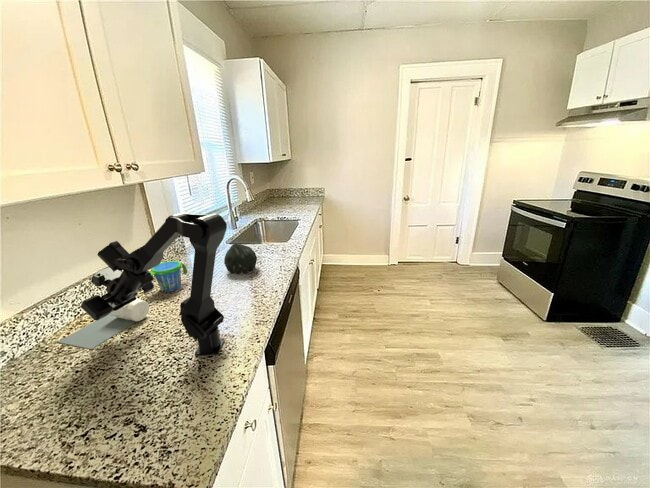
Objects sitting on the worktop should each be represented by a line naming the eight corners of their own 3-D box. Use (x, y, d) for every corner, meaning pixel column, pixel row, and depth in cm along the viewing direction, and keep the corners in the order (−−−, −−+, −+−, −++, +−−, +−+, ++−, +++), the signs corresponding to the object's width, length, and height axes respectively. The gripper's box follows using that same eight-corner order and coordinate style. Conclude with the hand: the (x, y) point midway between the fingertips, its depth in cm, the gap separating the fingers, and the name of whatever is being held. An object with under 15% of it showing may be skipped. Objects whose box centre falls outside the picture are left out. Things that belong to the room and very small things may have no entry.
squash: (259, 252, 140) (236, 233, 133) (265, 263, 127) (239, 243, 120) (240, 272, 140) (215, 255, 132) (243, 286, 127) (216, 267, 119)
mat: (145, 317, 97) (145, 315, 97) (92, 351, 80) (91, 349, 80) (115, 312, 101) (114, 310, 100) (58, 344, 84) (57, 341, 84)
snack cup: (157, 299, 108) (152, 275, 104) (145, 292, 114) (139, 269, 110) (195, 284, 120) (191, 262, 116) (182, 278, 125) (178, 257, 122)
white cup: (145, 323, 96) (123, 317, 98) (154, 301, 98) (133, 295, 101) (125, 322, 88) (102, 315, 91) (135, 297, 90) (113, 291, 93)
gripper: (138, 250, 88) (120, 279, 95) (74, 274, 71) (58, 307, 78) (163, 275, 89) (144, 302, 95) (106, 304, 72) (87, 335, 78)
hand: (111, 310), depth 87 cm, fingers closed
